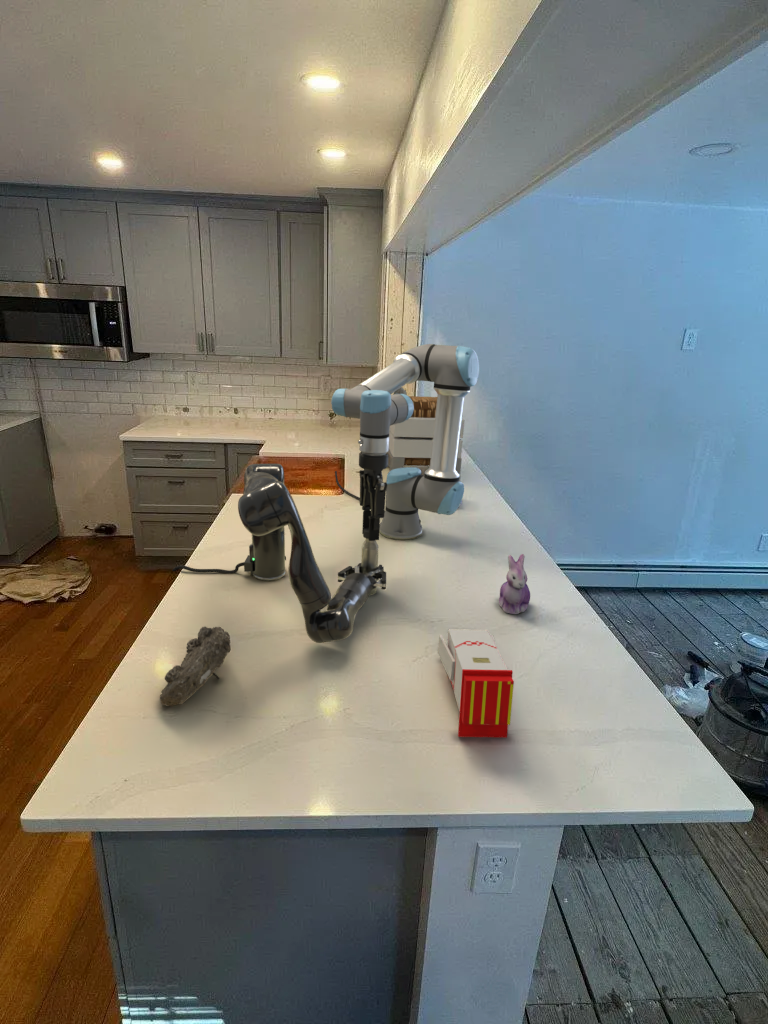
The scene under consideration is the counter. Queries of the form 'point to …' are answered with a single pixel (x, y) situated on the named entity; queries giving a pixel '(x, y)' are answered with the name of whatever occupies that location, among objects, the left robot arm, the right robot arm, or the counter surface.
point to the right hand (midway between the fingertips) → (370, 536)
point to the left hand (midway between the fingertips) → (371, 566)
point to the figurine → (515, 588)
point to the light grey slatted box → (416, 436)
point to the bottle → (369, 558)
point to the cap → (366, 533)
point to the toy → (478, 682)
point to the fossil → (196, 665)
